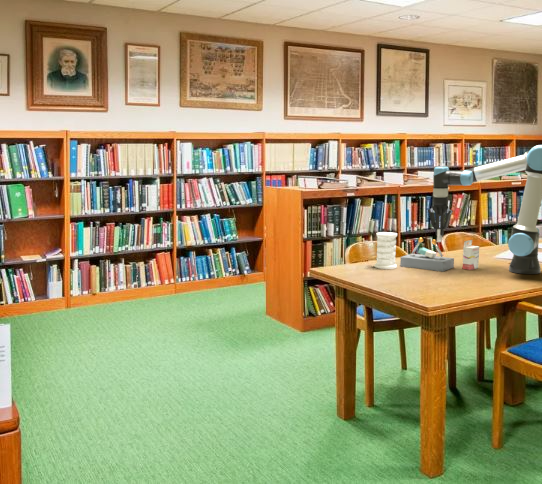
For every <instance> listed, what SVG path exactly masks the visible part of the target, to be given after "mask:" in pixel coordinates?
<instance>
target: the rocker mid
mask: <svg viewBox="0 0 542 484" xmlns="http://www.w3.org/2000/svg"><path fill="white" fill-rule="evenodd" d="M437 253H438V252H435V251H433V250H431V249H428V248H426V247H420V248H419V249H418V252H417V254H420V255H425V256H427V257H430V258H434V257H436V256H437Z"/></svg>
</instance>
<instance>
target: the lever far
mask: <svg viewBox="0 0 542 484" xmlns="http://www.w3.org/2000/svg"><path fill="white" fill-rule="evenodd" d="M423 242H424V238H423V237H419V238H418V241H417V244H416V245H415V247H414V248H413V250H412V251H411V254H415V253H416V252H417V251H416V250H417V249H418V248H419V246H420V244H421V243H423Z"/></svg>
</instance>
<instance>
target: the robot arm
mask: <svg viewBox="0 0 542 484" xmlns="http://www.w3.org/2000/svg"><path fill="white" fill-rule="evenodd" d="M523 171H524V172H525V173H526V175H527V178H526V181H525V186H524V191H523V194H522V199H521V205H520V210H519V213H518V217H517V222H516V224H514V225H513V226H512V230H511V234H510V237H509V239H508V241H507V242H508V243H507V246H508V249H509V251H510V252H511V254H512V255H513V256H512V258H511V261H510V263H509V266H508V271H509V272H511V273H514V274H522V275H538V274H541V269H542V268H541V265H540V261H539V240H540V233H541V232H540V229H539V228H538V227H536V226H537V223H538V217H539V213H540V209H541V204H542V144H538V145H535V146H533V147H531V149H530V150H527V151H526V152H524V154H521V155H517V156H514V157H509V158H506V159H500V160H499V161H495V162H491V163H490V162H489V163H486V164H483V165H479V166H475V167H471V168H468V169H462V170H450V168H449V166H435V167H434V168H433V187H432V188H433V190H432V196H433V198H432V206H431V208H430V209H427V212H428V214H429V219H430V223H431V227H432V228H433V229H435V236H436V241H437V243H441V242H442V241H443V236H444V235H445V234H444V232H445V231H444V230H445V229H448V226H449V224H450V223H449V222H450V219H451V216H452V213H453V210H451V209H450V208H449V206H448V205H449V197H448V196H449V186H464V187H465V186H471V185H472V184H474V183H477V182H481V181H485V180H490V179H493V178H497V177H501V176H502V177H503V176H504V175H505V176H506V175H510V174H514V173H518V172H523ZM446 213H447V214H446ZM434 214H435V215H434Z"/></svg>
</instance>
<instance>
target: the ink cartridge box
mask: <svg viewBox="0 0 542 484" xmlns="http://www.w3.org/2000/svg"><path fill="white" fill-rule="evenodd" d="M472 244H473V239H470V240H465V241H464V242H463V248H462V249H463V250H462V252H463V254H462V270H467V271H471V270H472V271H473V270H475V269H478V268H479V258H480V246H478V245H472Z"/></svg>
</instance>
